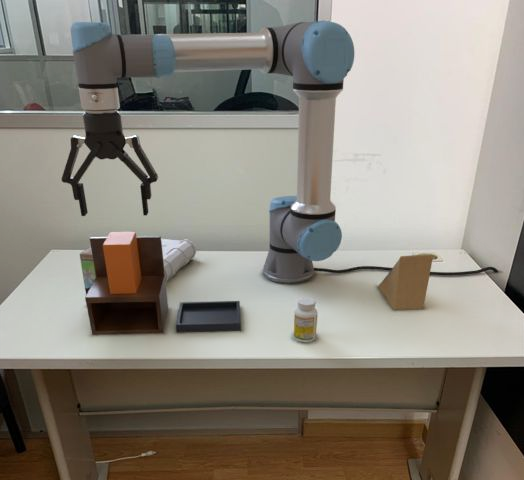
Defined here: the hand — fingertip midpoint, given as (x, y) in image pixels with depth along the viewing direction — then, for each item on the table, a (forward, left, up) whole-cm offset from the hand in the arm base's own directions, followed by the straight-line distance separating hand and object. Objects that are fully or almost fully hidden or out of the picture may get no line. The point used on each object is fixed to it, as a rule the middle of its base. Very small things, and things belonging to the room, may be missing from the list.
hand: (115, 214), depth 119 cm
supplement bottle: (-43, +10, -28) cm, 52 cm away
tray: (-20, -1, -28) cm, 34 cm away
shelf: (0, -1, -28) cm, 28 cm away
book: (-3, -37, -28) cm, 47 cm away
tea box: (+6, -16, -28) cm, 33 cm away
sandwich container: (-72, -11, -28) cm, 78 cm away
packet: (0, 0, -18) cm, 18 cm away
